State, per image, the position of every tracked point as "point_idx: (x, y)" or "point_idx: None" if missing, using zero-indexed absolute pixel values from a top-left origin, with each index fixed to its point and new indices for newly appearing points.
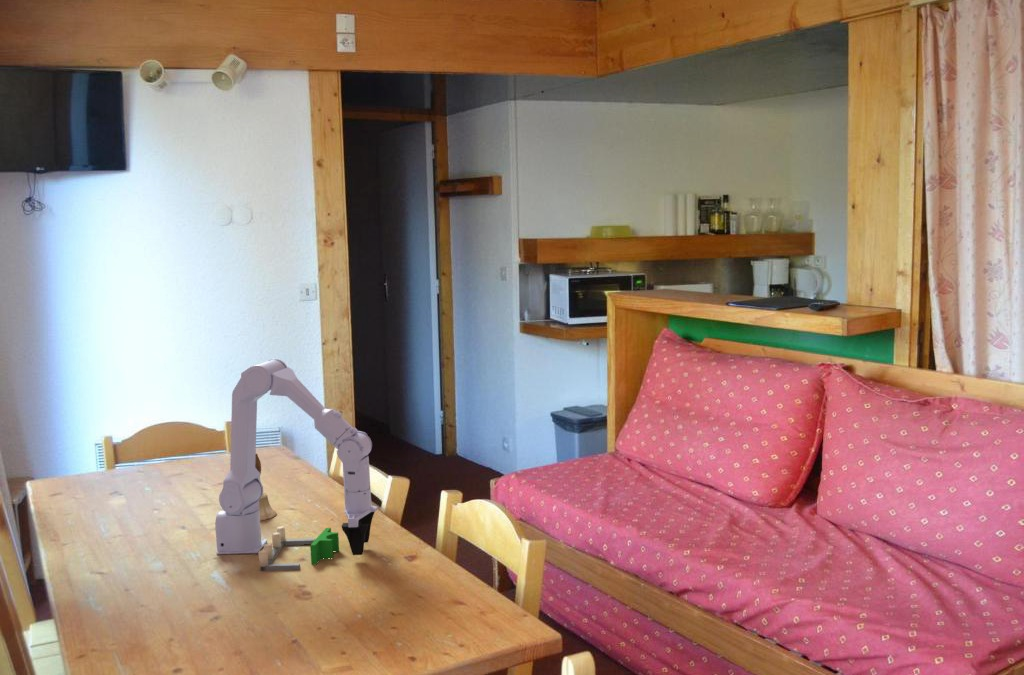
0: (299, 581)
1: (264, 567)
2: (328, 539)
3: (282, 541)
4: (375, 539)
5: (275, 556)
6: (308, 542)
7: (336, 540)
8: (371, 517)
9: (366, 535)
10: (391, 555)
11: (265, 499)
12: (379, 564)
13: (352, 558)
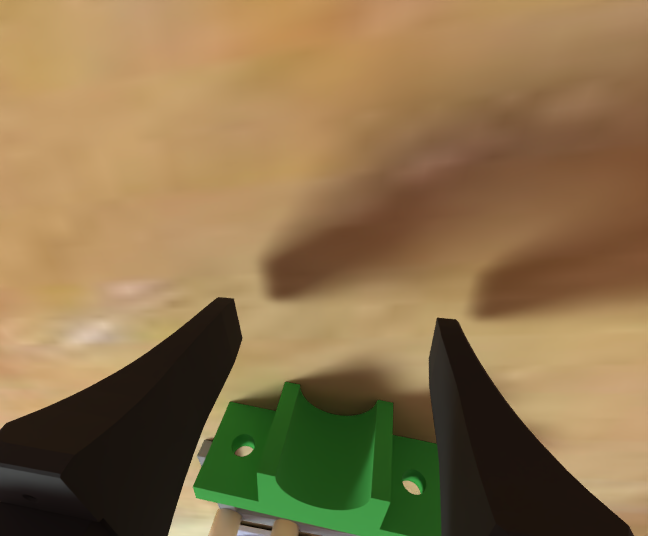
0: (635, 490)
1: None
2: (369, 506)
3: (239, 514)
4: (104, 247)
5: None
6: None
7: (285, 440)
8: (121, 427)
9: (214, 335)
10: (376, 116)
11: None
12: (555, 187)
13: (394, 335)
